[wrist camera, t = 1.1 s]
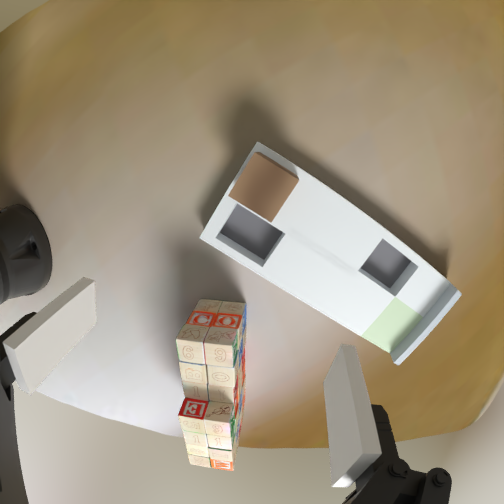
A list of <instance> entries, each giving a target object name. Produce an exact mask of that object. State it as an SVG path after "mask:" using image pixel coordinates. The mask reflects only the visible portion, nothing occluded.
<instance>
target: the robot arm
mask: <svg viewBox="0 0 504 504" xmlns="http://www.w3.org/2000/svg"><path fill="white" fill-rule="evenodd" d="M51 271H52V256H51V250H50V246H49V242H48V239H47V236H46V233H45V231H44V229H43V227H42V225H41V223H40V222H39V220H38V219H37V217H36V216H35V215H34V214H33V213H32V212H31V211H30V210H29V209H27V208H26V207H24V206H22V205H12V206H9V207H6V208H4V209H2V210H0V304H2V303H3V302H4V301H6V300H7V299H11V298H15V297H20V296H24V295H32V294H34V293H36V292H38V291H39V290H41V289H42V288H43V287H45V286H46V285H47V283H48V281H49V279H50V276H51ZM96 323H97V315H96V298H95V281H94V280H91V279H88V278H85V277H83V278H82V279H80V280H79V281H78V282H76V283H75V284H74V285H72V286H71V287H70V288H69V289H67V290H66V291H65V292H63V293H62V294H61V295H59V296H58V297H57V298H56V299H54V300H53V301H52V302H50V303H49V304H48V305H47V306H45V307H44V308H43V309H42V310H40V311H39V312H38V313H35V312H32V313H30V314H27V315H25V316H24V317H22V318H21V319H20V320H19V321H18V322H16V323H15V324H14V325H13V326H11V327H10V328H9V329H8V330H7V331H5V332H4V333H3V334H2V335H1V336H0V504H29V503H28V499H27V495H26V490H25V486H24V481H23V476H22V470H21V465H20V459H19V452H18V445H17V436H16V426H15V413H14V389H13V385H12V383H13V382H14V381H15V380H16V381H17V384H18V386H19V388H20V389H21V390H23V391H24V392H26V393H27V394H29V395H32V393H33V392H34V391H35V390H36V389H37V388H38V387H39V385H40V384H41V383H42V382H43V381H44V380H45V378H46V377H47V376H48V375H49V374H50V373H51V372H52V371H53V369H54V368H55V367H56V366H57V365H58V364H59V363H60V362H61V361H62V359H63V358H64V357H65V356H66V355H67V354H68V353H69V352H70V351H71V350H72V349H73V347H74V346H75V345H76V344H77V343H78V342H79V341H80V340H81V339H82V338H83V337H84V336H85V335H86V334H87V332H88V331H89V330H90V329H91V328H92V327H93V326H94V325H95V324H96ZM323 384H324V394H325V404H326V415H327V426H328V438H329V451H330V465H331V483H332V487H349V486H350V485H352V483H354V482H356V489H355V490H354V491H353V492H352V493H351V494H350V495H348V496H347V497H346V500H345V501H344V502H343V503H342V504H448V503H449V497H450V491H451V484H452V480H451V477H450V474H449V473H448V472H447V471H446V470H444V469H442V468H433V469H431V470H430V471H429V472H428V473H422V472H418V471H414V470H411V469H410V467H409V466H408V464H407V463H406V462H405V461H404V460H402V459H400V458H399V456H398V452H397V449H396V444H395V440H394V436H393V433H392V432H391V430H392V429H391V425H390V424H389V423H390V422H389V418H388V414H387V412H386V411H385V410H384V408H383V407H382V406H381V405H373V404H371V403H370V399H369V395H368V391H367V387H366V384H365V380H364V376H363V372H362V369H361V365H360V361H359V358H358V354H357V350H356V347H355V346H352V345H346V344H341V346H340V348H339V350H338V352H337V355H336V357H335V359H334V361H333V363H332V365H331V367H330V369H329V372H328V374H327V376H326V378H325V380H324V382H323Z"/></svg>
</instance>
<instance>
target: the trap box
mask: <svg viewBox="0 0 504 504" xmlns="http://www.w3.org/2000/svg"><path fill="white" fill-rule="evenodd" d="M254 152H261V153H262V154H264V155H266V156H267V157H269V158H271V159H272V160H274V161H275V162H277V163H279V164H280V165H282V166H283V167H285V168H286V169H288V170H290V171H291V172H293V173H294V174H296V175H297V176H298V178H299V182H298V183H297V185H296V186H295V188H294V189H293V191H292V192H291V194H290V195H289V197H288V198H287V200H286V201H285V203H284V204H283V206H282V207H281V209H280V210H279V212H278V213H277V215H276V216H275V218H274V219H273V221H272V222H269V221H268V220H266V219H264V218H263V217H261V216H260V215H258V214H257V213H255V212H253V211H252V210H250V209H249V208H247V207H245V206H244V205H242V204H240V203H239V202H237V201H236V200H234V199H232V198H231V197H229V196H228V195H229V193H230V191H231V190H232V188H233V186H234V185H235V183H236V182H237V180H238V178H239V177H240V175H241V173H242V172H243V170H244V168H245V167H246V165H247V164H248V162H249V160H250V159H251V157H252V156H253V154H254ZM200 239H202V240H203V241H205V242H206V243H208V244H210V245H211V246H213V247H214V248H216V249H218V250H219V251H221V252H223V253H224V254H226V255H227V256H229V257H231V258H232V259H234V260H235V261H237V262H239V263H240V264H242V265H244V266H245V267H247V268H248V269H250V270H252V271H253V272H255V273H257V274H258V275H260V276H262V277H263V278H265V279H266V280H268V281H270V282H271V283H273V284H275V285H276V286H278V287H280V288H281V289H283V290H284V291H286V292H288V293H289V294H291V295H293V296H294V297H296V298H298V299H299V300H301V301H303V302H304V303H306V304H308V305H309V306H311V307H313V308H314V309H316V310H318V311H319V312H321V313H323V314H324V315H326V316H328V317H329V318H331V319H333V320H334V321H336V322H338V323H339V324H341V325H343V326H344V327H346V328H348V329H349V330H351V331H353V332H355V333H356V334H358V335H360V336H361V337H363V338H365V339H366V340H368V341H370V342H371V343H373V344H375V345H377V346H378V347H380V348H382V349H383V350H385V351H387V352H389V353H390V355H391V357H392V360H393V362H394V363H395V364H397V365H400V364H401V363H402V362H403V361H404V360H405V359H406V358H407V357H408V356H409V355H410V354H411V353H412V351H413V350H414V349H415V348H416V347H417V346H418V345H419V344H420V343H421V342H422V341H423V340H424V339H425V338H426V336H427V335H428V334H429V333H430V332H431V331H432V330H433V329H434V327H435V326H436V325H437V324H438V323H439V322H440V321H441V319H442V318H443V317H444V316H445V315H446V313H447V312H448V311H449V310H450V309H451V307H452V306H453V305H454V304H455V302H456V301H457V300H458V299H459V297H460V296H461V295H462V294H461V293H460V292H459V291H458V290H457V289H456V288H455V287H454V286H453V285H452V284H451V283H450V282H449V281H448V280H447V279H446V278H445V277H444V276H443V275H442V274H441V273H439V272H438V271H437V270H436V269H435V268H434V267H433V266H431V265H430V264H429V263H428V262H427V261H425V260H424V259H423V258H422V257H421V256H420V255H418V254H417V253H416V252H415V251H413V250H412V249H411V248H410V247H409V246H407V245H406V244H405V243H404V242H402V241H401V240H400V239H399V238H397V237H396V236H395V235H394V234H392V233H391V232H390V231H388V230H387V229H386V228H385V227H383V226H382V225H381V224H379V223H378V222H377V221H375V220H374V219H373V218H371V217H370V216H369V215H367V214H366V213H365V212H363V211H362V210H361V209H359V208H358V207H357V206H355V205H354V204H352V203H351V202H350V201H348V200H347V199H345V198H344V197H343V196H341V195H340V194H338V193H337V192H336V191H334V190H333V189H331V188H330V187H328V186H327V185H325V184H324V183H322V182H321V181H319V180H318V179H317V178H315V177H314V176H312V175H311V174H309V173H308V172H306V171H304V170H303V169H301V168H300V167H298V166H297V165H295V164H294V163H292V162H291V161H289V160H287V159H286V158H284V157H283V156H281V155H280V154H278V153H276V152H275V151H273V150H271V149H270V148H268V147H267V146H265V145H263V144H262V143H260V142H257V143H256V144H255V146H254V147H253V149H252V150H251V152H250V154H249V155H248V157H247V158H246V160H245V162H244V163H243V165H242V167H241V168H240V170H239V171H238V173H237V175H236V176H235V178H234V180H233V181H232V183H231V185H230V186H229V188H228V190H227V191H226V193H225V195H224V196H223V198H222V200H221V201H220V203H219V205H218V207H217V208H216V210H215V212H214V213H213V215H212V217H211V219H210V220H209V222H208V224H207V225H206V227H205V229H204V231H203V232H202V234H201V236H200Z"/></svg>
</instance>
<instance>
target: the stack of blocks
mask: <svg viewBox="0 0 504 504" xmlns="http://www.w3.org/2000/svg"><path fill="white" fill-rule="evenodd" d="M245 343H246V303H240V302H228V301H220V300H208V299H200V300H199V302H198V303H197V305H196V307H195V309H194V311H192V313H191V315H190V317H189V318H188V320H187V322H186V324H184V325H183V327H182V329H181V330H180V332H179V334H178V336H177V338H176V345H177V351H178V357H179V367H180V373H181V379H182V385H183V390H184V395H185V399H184V401H183V404H182V406H181V409H180V411H179V414H178V417H179V421H180V425H181V429H182V430H183V435H184V439H185V445H186V449H187V452H188V457H189V461H190V464H193V465H199V466H203V467H209V468H210V467H212V468H215V469H223V470H231V471H233V470H234V465H235V459H236V454H237V448H238V444H239V435H240V430H241V425H242V422H243V415H244V402H245V378H246V375H245Z"/></svg>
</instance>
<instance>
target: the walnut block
mask: <svg viewBox="0 0 504 504" xmlns="http://www.w3.org/2000/svg"><path fill="white" fill-rule="evenodd" d="M298 182H299V178H298V176H297V175H296V174H294V173H293V172H291V171H290V170H288V169H286V168H285V167H283V166H282V165H280V164H279V163H277V162H275V161H274V160H272V159H271V158H269V157H267V156H266V155H264V154H262V153H261V152H254V154H253V156H252V157H251V159H250V160H249V162H248V164H247V165H246V167H245V168H244V170H243V172H242V173H241V175H240V177H239V178H238V180H237V182H236V183H235V185H234V186H233V188H232V190H231V191H230V193H229V195H228V196H229V197H231V198H232V199H234V200H236V201H237V202H239V203H240V204H242V205H244V206H245V207H247V208H249V209H250V210H252V211H253V212H255V213H257V214H258V215H260V216H261V217H263V218H264V219H266V220H268V221H269V222H272V221H273V219H274V218H275V216H276V215H277V213H278V212H279V210H280V209H281V207H282V206H283V204H284V203H285V201H286V200H287V198H288V197H289V195H290V194H291V192H292V191H293V189H294V188H295V186H296V185H297V183H298Z"/></svg>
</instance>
